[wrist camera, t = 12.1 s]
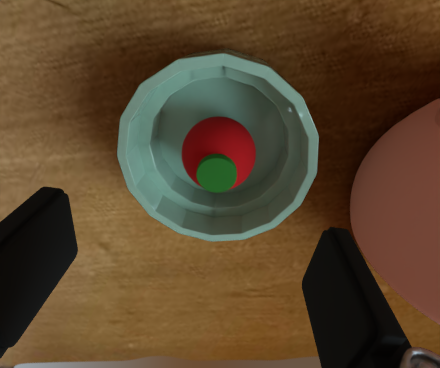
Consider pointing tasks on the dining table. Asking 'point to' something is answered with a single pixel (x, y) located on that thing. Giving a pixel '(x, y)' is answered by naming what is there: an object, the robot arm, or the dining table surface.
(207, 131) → the tomato
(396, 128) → the teapot
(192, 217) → the bowl
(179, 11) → the dining table surface
